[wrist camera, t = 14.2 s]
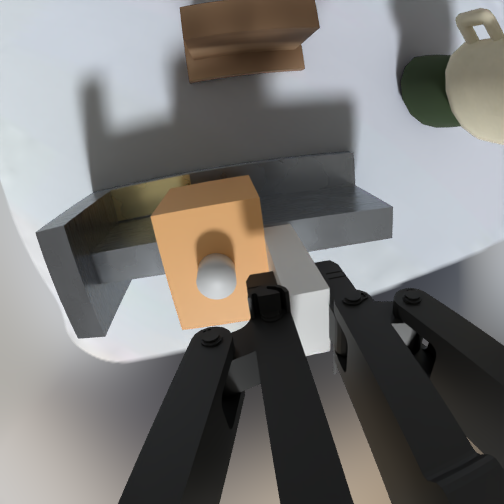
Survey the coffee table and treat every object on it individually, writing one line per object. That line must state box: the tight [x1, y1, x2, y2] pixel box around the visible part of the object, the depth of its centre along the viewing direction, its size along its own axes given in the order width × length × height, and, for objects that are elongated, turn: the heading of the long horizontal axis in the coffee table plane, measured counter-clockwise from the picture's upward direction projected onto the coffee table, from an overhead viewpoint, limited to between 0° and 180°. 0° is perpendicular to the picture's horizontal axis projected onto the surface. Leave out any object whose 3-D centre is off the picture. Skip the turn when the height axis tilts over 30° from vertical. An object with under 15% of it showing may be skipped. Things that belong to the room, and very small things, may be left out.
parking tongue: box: [180, 0, 320, 83], centre depth 16 cm, size 5×8×7 cm, turn 97°
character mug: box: [401, 8, 504, 145], centre depth 15 cm, size 11×7×13 cm, turn 36°
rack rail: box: [35, 151, 393, 338], centre depth 20 cm, size 7×20×9 cm, turn 97°
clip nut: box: [150, 175, 269, 330], centre depth 18 cm, size 6×5×7 cm
